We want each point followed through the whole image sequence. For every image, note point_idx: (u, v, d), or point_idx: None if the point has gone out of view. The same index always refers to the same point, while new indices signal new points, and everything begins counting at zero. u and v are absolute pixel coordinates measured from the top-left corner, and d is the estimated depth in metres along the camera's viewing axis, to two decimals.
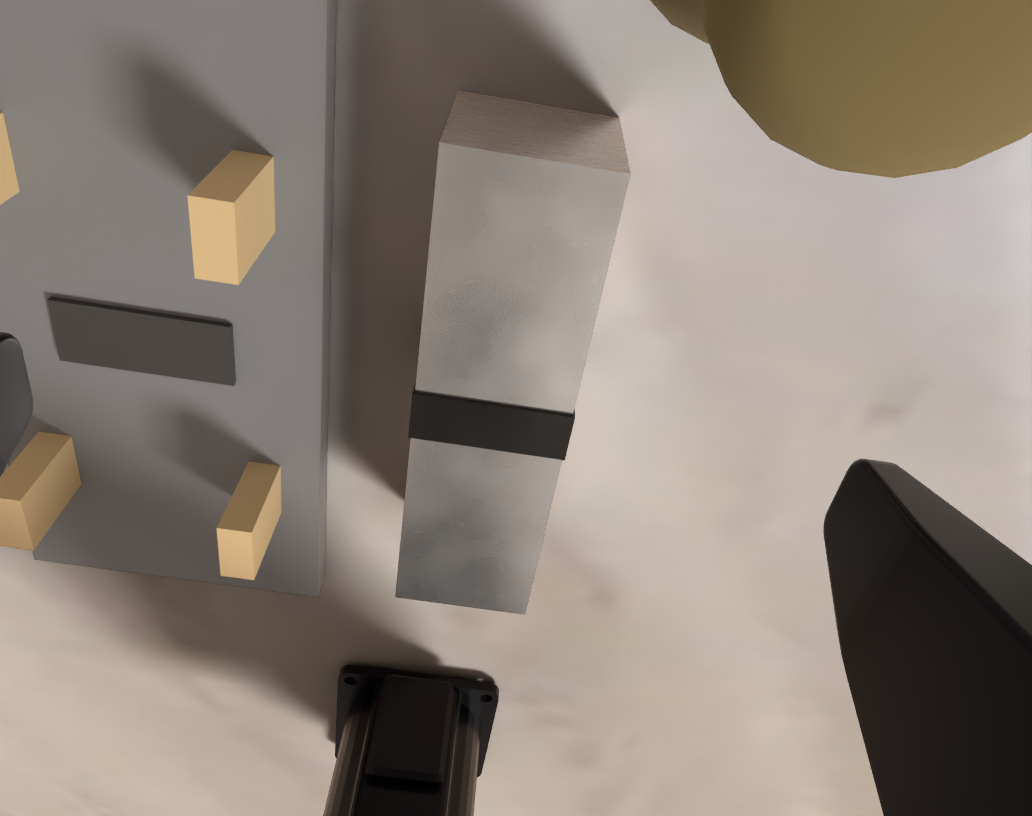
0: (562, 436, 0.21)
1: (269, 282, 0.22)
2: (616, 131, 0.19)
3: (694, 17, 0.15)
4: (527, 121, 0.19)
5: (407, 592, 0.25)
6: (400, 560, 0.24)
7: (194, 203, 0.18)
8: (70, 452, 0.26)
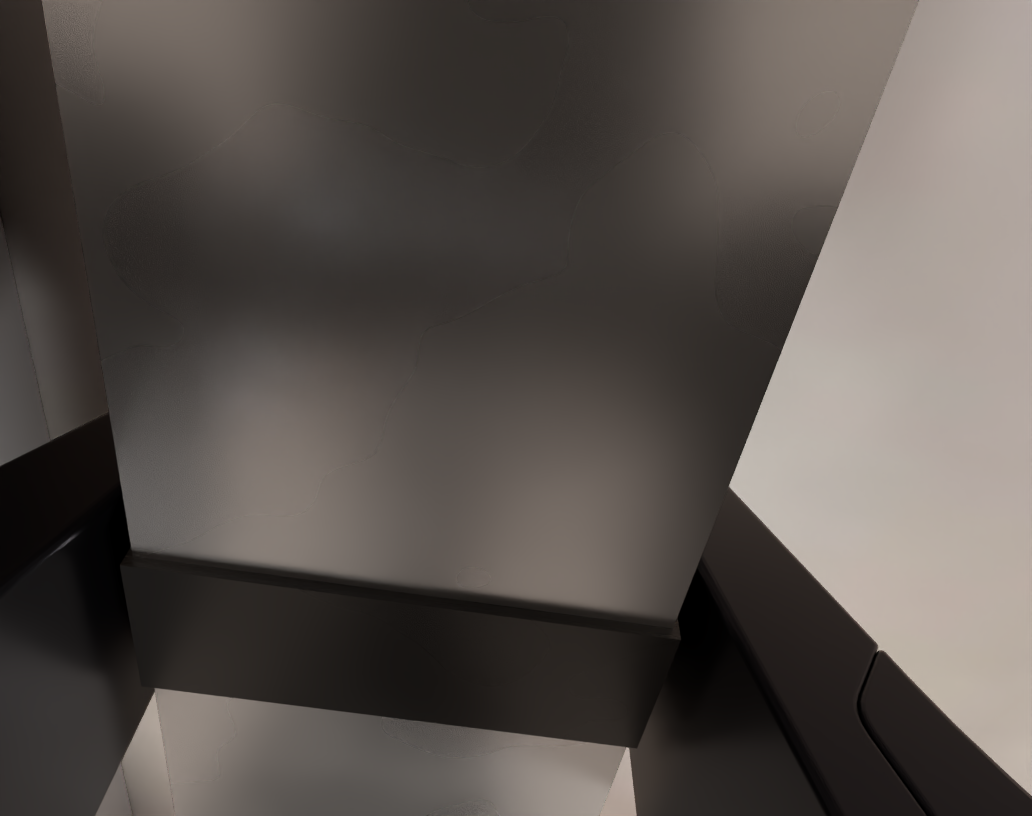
0: (635, 688, 0.06)
1: None
2: None
3: None
4: None
5: None
6: None
7: None
8: None
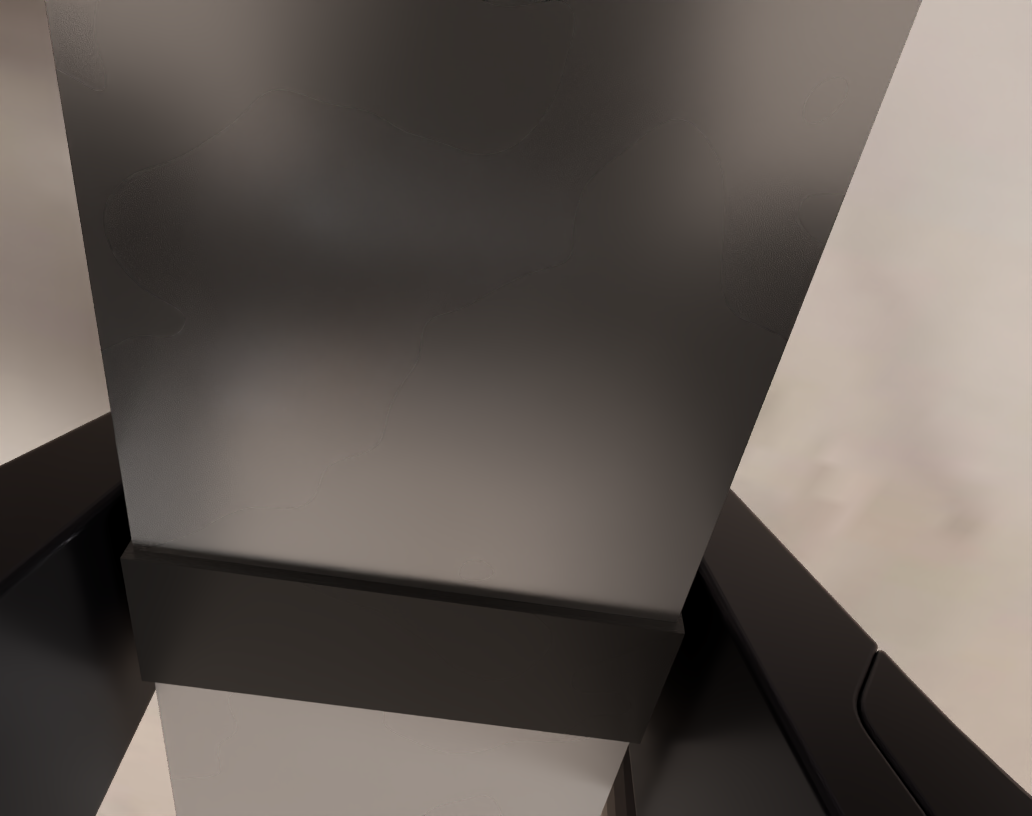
0: (638, 683, 0.06)
1: None
2: None
3: None
4: None
5: None
6: None
7: None
8: None
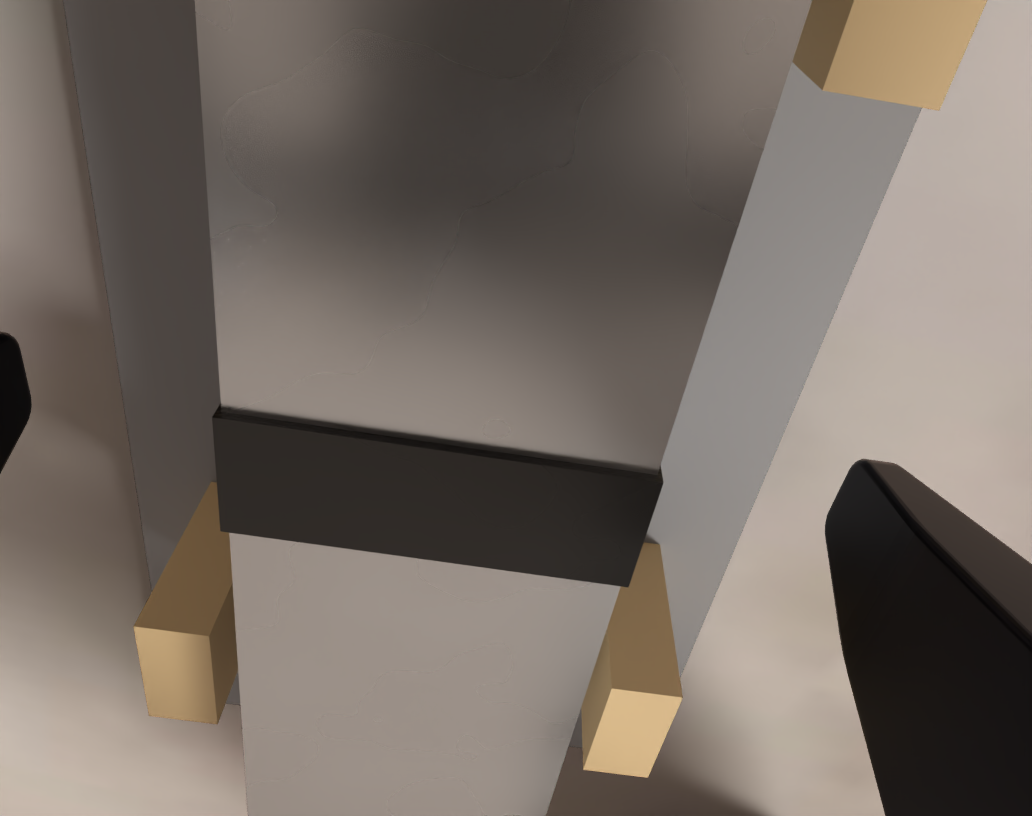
0: (626, 530, 0.08)
1: (776, 167, 0.10)
2: None
3: None
4: None
5: None
6: (249, 783, 0.11)
7: None
8: None
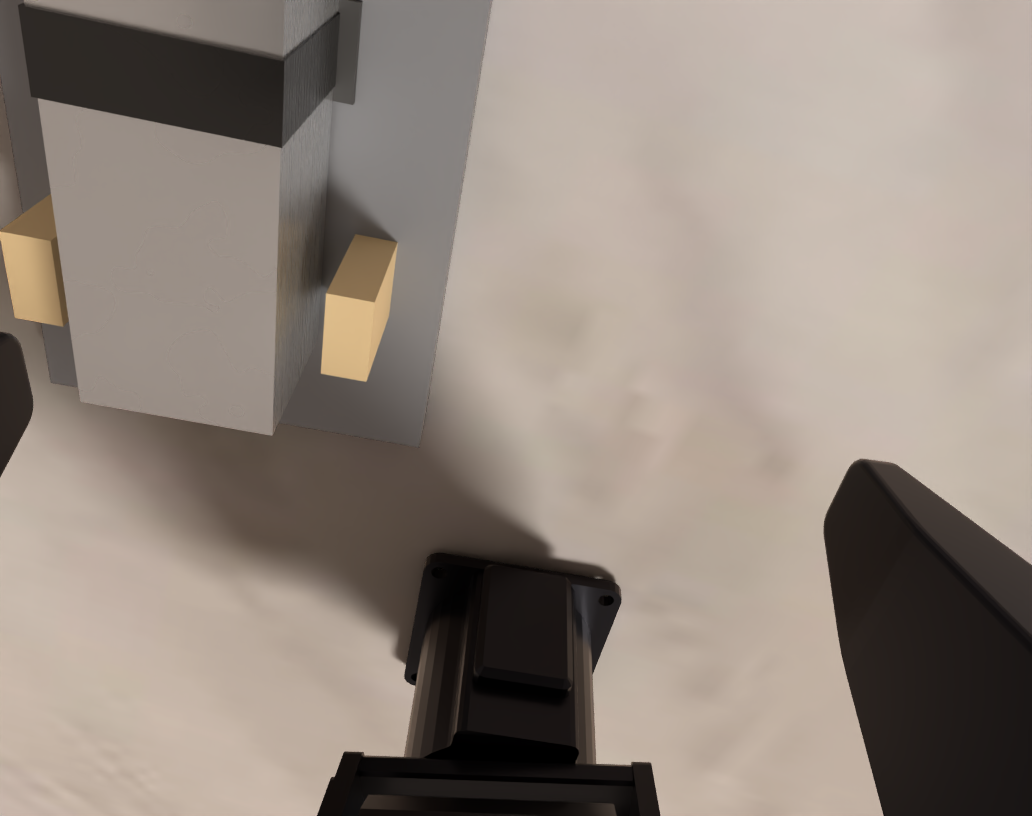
0: (271, 99, 0.13)
1: None
2: None
3: None
4: None
5: (96, 394, 0.17)
6: (73, 336, 0.16)
7: None
8: None
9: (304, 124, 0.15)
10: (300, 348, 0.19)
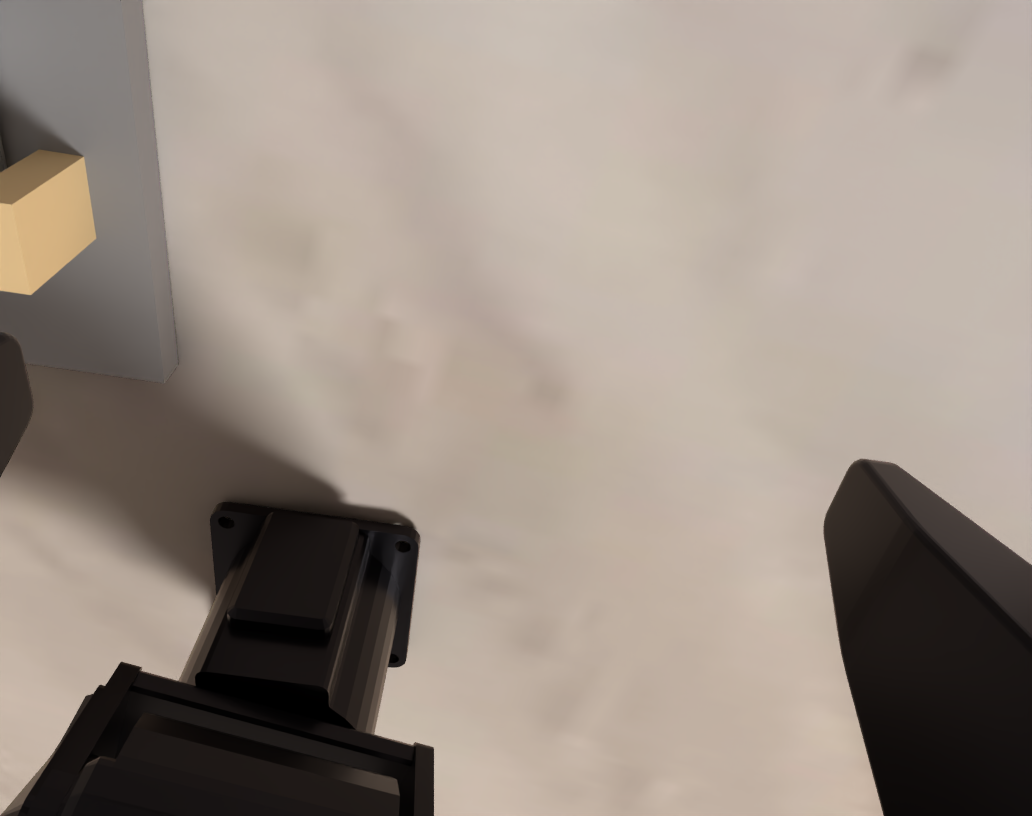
0: None
1: None
2: None
3: None
4: None
5: None
6: None
7: None
8: None
9: None
10: None
